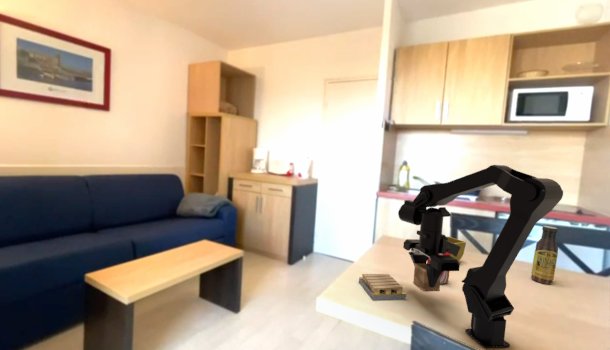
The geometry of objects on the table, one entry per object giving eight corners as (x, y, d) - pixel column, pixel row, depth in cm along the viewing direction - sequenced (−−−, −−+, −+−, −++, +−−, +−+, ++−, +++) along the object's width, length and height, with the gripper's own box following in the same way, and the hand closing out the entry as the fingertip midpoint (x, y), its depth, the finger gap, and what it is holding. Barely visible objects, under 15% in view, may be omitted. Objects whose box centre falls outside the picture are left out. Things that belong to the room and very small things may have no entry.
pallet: (402, 292, 85) (403, 287, 85) (373, 293, 84) (374, 288, 84) (387, 278, 95) (388, 273, 95) (361, 278, 94) (362, 273, 93)
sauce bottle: (532, 282, 102) (539, 226, 101) (529, 276, 108) (534, 223, 106) (556, 287, 99) (563, 230, 98) (551, 280, 105) (557, 226, 103)
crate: (439, 291, 81) (441, 270, 80) (422, 291, 80) (424, 270, 80) (428, 283, 86) (430, 263, 86) (413, 283, 85) (414, 263, 85)
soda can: (451, 286, 95) (454, 250, 94) (428, 283, 96) (431, 248, 95) (445, 277, 102) (448, 244, 101) (423, 275, 103) (426, 242, 102)
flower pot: (431, 258, 122) (433, 237, 121) (446, 256, 125) (448, 236, 125) (449, 266, 114) (452, 243, 113) (464, 263, 117) (466, 242, 117)
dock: (405, 299, 84) (406, 294, 84) (373, 300, 83) (373, 294, 83) (387, 281, 96) (387, 276, 96) (358, 281, 94) (359, 277, 94)
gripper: (481, 239, 74) (475, 298, 75) (436, 222, 92) (432, 269, 93) (441, 239, 72) (436, 299, 73) (404, 221, 91) (400, 270, 92)
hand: (426, 282), depth 83 cm, fingers closed on crate, 5 cm apart
